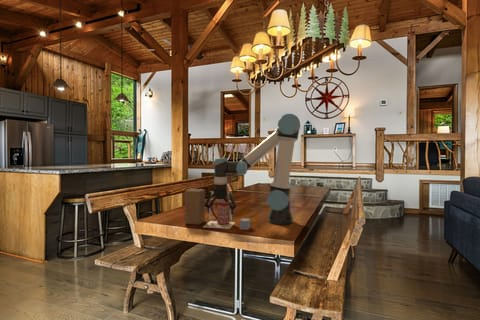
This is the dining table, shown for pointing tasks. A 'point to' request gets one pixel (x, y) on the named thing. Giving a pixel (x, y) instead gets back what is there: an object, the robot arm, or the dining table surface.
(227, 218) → the mug
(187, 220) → the wooden block
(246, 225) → the cube
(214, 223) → the letter
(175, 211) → the dining table surface
